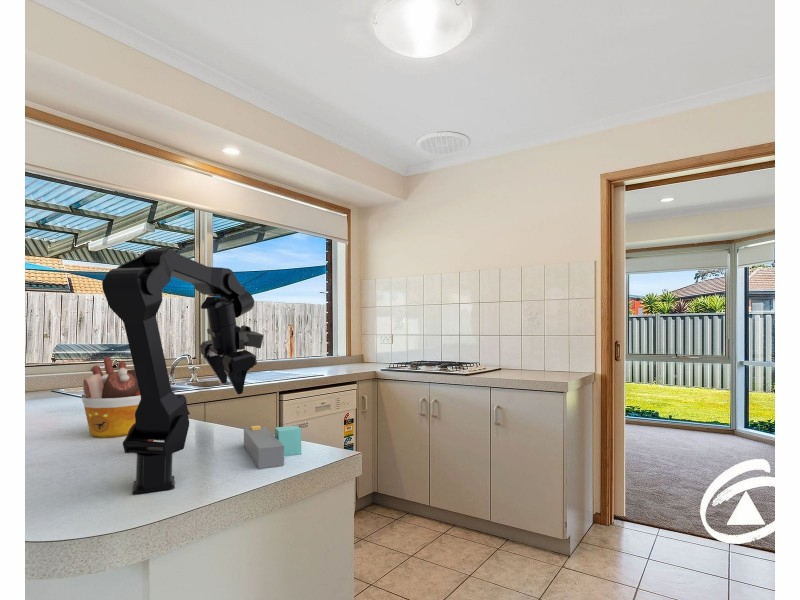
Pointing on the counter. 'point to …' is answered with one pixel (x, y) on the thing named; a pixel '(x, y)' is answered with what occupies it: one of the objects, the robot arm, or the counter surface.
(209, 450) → the counter surface
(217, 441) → the counter surface
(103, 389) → the bucket of meat
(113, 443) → the counter surface
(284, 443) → the block
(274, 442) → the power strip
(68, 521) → the counter surface
